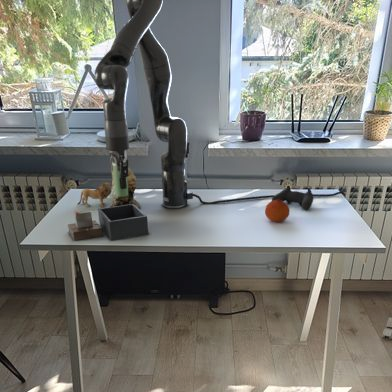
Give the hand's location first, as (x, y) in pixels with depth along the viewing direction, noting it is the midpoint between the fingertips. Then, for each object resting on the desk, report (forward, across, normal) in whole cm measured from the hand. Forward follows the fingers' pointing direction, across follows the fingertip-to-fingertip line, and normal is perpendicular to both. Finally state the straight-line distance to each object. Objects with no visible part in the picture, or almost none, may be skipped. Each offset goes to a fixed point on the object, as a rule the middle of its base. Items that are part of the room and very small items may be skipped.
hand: (121, 186), depth 173 cm
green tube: (+3, 0, 0) cm, 3 cm away
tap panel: (+16, +2, +14) cm, 21 cm away
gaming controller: (+16, -2, -71) cm, 73 cm away
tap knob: (+13, +2, +14) cm, 19 cm away
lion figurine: (+16, +33, +2) cm, 37 cm away
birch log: (+16, +44, -12) cm, 49 cm away
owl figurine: (+16, +23, -7) cm, 29 cm away
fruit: (+16, -15, -55) cm, 59 cm away
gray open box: (+16, 0, 0) cm, 16 cm away
